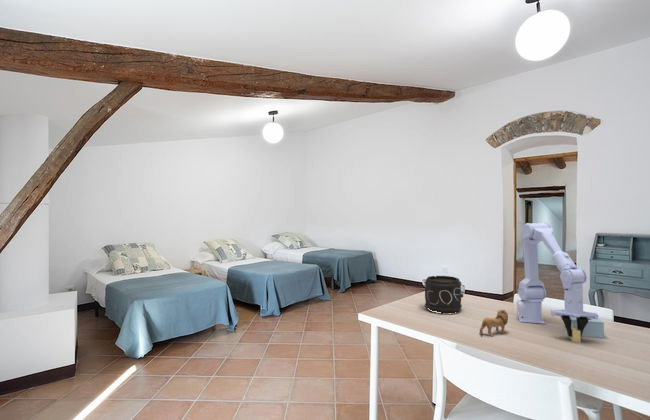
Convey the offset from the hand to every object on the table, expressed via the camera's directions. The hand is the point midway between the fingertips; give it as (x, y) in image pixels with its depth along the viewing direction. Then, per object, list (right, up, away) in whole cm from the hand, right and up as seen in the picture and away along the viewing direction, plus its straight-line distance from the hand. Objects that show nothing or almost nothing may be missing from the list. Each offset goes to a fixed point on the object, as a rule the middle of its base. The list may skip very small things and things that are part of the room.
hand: (574, 336), depth 130 cm
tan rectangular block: (0, -1, 0) cm, 1 cm away
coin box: (+10, -1, +8) cm, 13 cm away
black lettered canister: (-35, -3, +42) cm, 55 cm away
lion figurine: (-26, -2, +8) cm, 28 cm away
